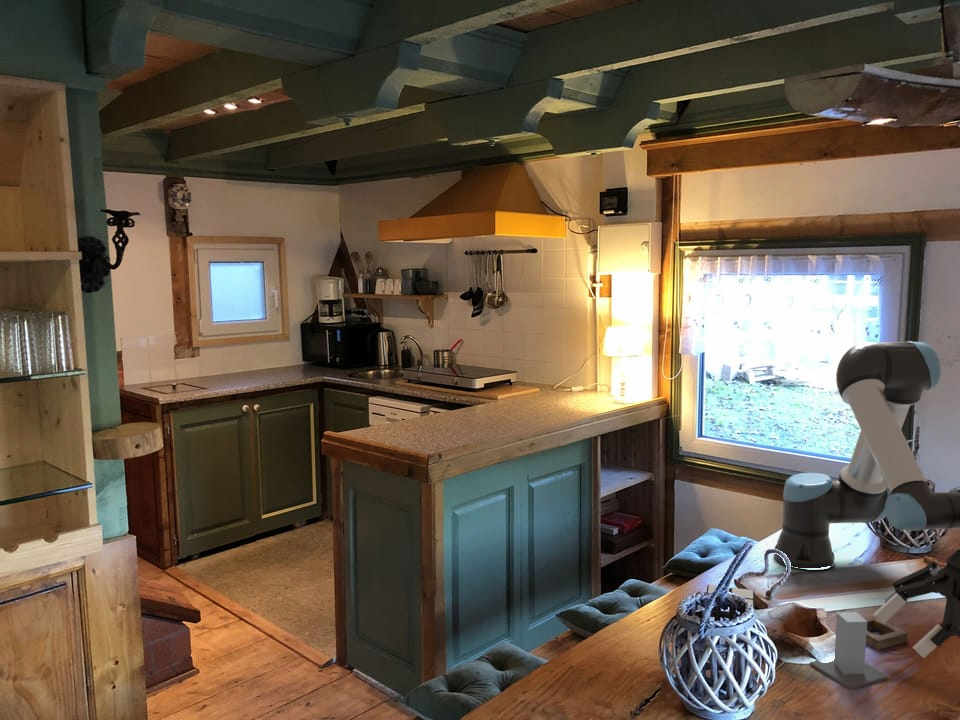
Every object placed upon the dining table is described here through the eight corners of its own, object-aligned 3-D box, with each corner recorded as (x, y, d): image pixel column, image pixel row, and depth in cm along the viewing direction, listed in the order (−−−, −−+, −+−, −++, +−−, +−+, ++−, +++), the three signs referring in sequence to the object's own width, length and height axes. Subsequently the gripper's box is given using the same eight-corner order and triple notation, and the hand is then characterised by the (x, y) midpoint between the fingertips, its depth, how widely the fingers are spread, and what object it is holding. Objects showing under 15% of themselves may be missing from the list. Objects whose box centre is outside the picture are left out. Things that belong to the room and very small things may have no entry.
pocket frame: (844, 631, 172) (845, 623, 172) (872, 624, 175) (873, 615, 175) (878, 649, 164) (878, 640, 164) (907, 641, 167) (907, 632, 167)
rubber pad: (810, 664, 158) (810, 662, 158) (846, 654, 162) (846, 651, 162) (850, 690, 149) (850, 687, 149) (887, 678, 153) (888, 675, 153)
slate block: (833, 663, 158) (837, 612, 156) (853, 663, 158) (856, 612, 156) (844, 674, 154) (847, 622, 152) (863, 673, 154) (867, 621, 152)
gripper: (1035, 602, 142) (949, 681, 143) (947, 549, 167) (874, 617, 168) (1010, 575, 141) (924, 655, 142) (925, 526, 166) (852, 595, 167)
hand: (897, 635), depth 155 cm, fingers open, 13 cm apart
